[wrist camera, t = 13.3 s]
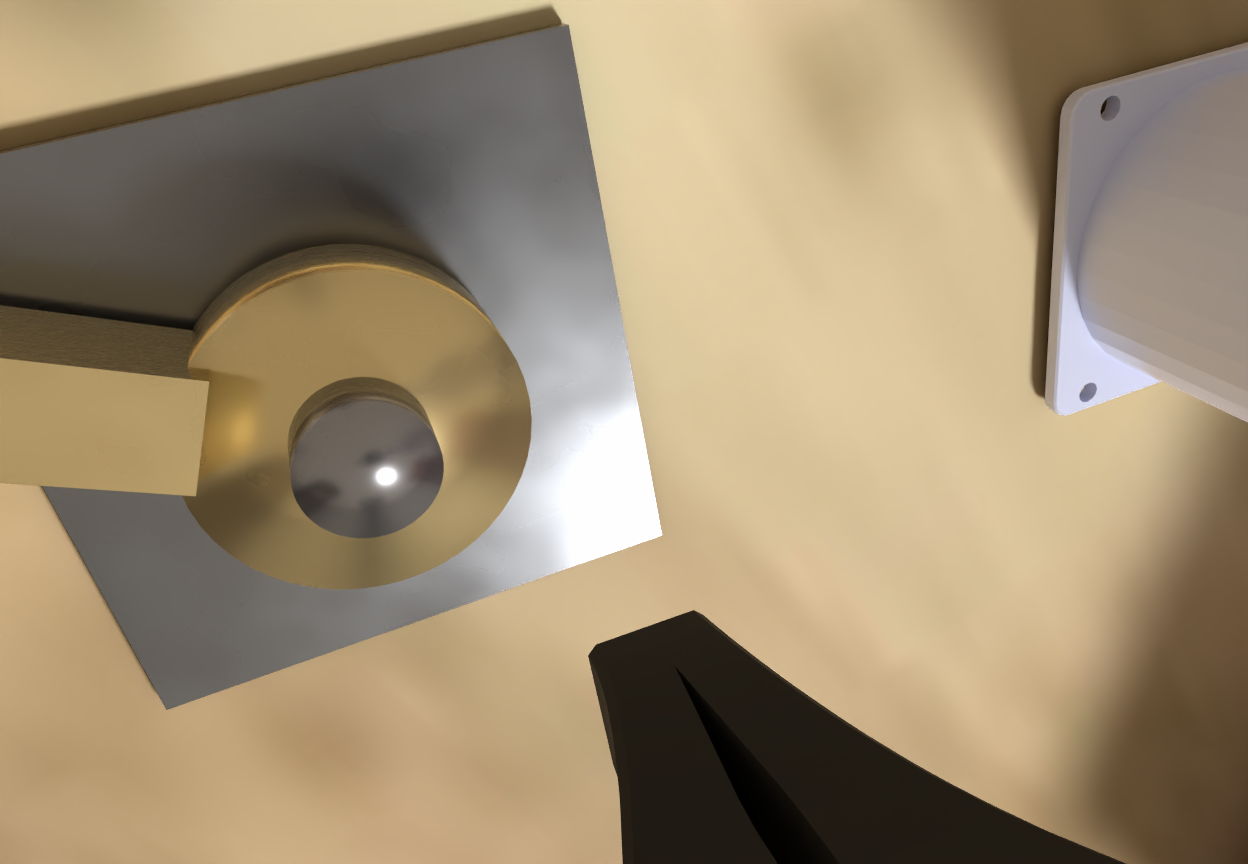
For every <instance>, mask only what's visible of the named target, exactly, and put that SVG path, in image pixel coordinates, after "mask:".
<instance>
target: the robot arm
mask: <svg viewBox="0 0 1248 864" xmlns="http://www.w3.org/2000/svg"><path fill="white" fill-rule="evenodd" d="M1105 100H1107V105H1106V108H1105V111H1104V112H1103V113H1102V115H1101V113H1100V110H1101V107H1102V104H1103V103H1104V101H1105ZM1159 382H1163V383H1166V384H1168V385H1170V386H1172V387H1174V388H1176V389H1178V390H1180V391H1182V392H1184V393H1187V394H1189V395H1191V396H1193V397H1195V398H1197V399H1199V400H1201V401H1203V402H1205V403H1208V404H1210V405H1212V406H1214V407H1216V408H1218V409H1220V410H1222V411H1224V412H1226V413H1229V414H1231V415H1233V416H1235V417H1237V418H1239V419H1241V420H1243V421H1245V422H1247V423H1248V42H1246V43H1243V44H1239V45H1235V46H1232V47H1228V48H1224V49H1221V50H1217V51H1214V52H1210V53H1206V54H1203V55H1199V56H1195V57H1192V58H1188V59H1184V60H1181V61H1177V62H1173V63H1170V64H1166V65H1162V66H1159V67H1155V68H1152V69H1148V70H1144V71H1141V72H1137V73H1133V74H1130V75H1126V76H1122V77H1119V78H1115V79H1111V80H1108V81H1104V82H1101V83H1097V84H1093V85H1090V86H1086V87H1082V88H1080V89H1078V90H1076V91H1074V92H1073V93H1072V94H1071V95H1070V96H1069V97H1068V98H1067V99H1066V101H1065V103H1064V105H1063V107H1062V111H1061V116H1060V133H1059V151H1058V170H1057V188H1056V206H1055V225H1054V243H1053V262H1052V280H1051V298H1050V317H1049V335H1048V353H1047V372H1046V390H1045V402H1046V405H1047V407H1048V408H1049V409H1050V410H1052V411H1053V412H1055V413H1057V414H1059V415H1062V416H1064V415H1069V414H1072V413H1075V412H1078V411H1081V410H1083V409H1086V408H1089V407H1092V406H1094V405H1097V404H1100V403H1103V402H1106V401H1108V400H1111V399H1114V398H1117V397H1120V396H1122V395H1125V394H1128V393H1131V392H1133V391H1136V390H1139V389H1142V388H1145V387H1147V386H1150V385H1153V384H1156V383H1159ZM1083 387H1084V389H1083V390H1082V391H1081V389H1082V388H1083ZM1080 391H1081V393H1080ZM588 657H589V661H590V665H591V670H592V674H593V678H594V683H595V687H596V691H597V696H598V700H599V704H600V709H601V713H602V717H603V722H604V726H605V730H606V735H607V739H608V743H609V748H610V752H611V756H612V761H613V765H614V768H615V771H616V773H617V776H618V784H619V794H620V809H621V832H622V855H623V864H1125V863H1123V862H1121V861H1118V860H1116V859H1113V858H1111V857H1109V856H1106V855H1104V854H1101V853H1099V852H1096V851H1094V850H1092V849H1089V848H1087V847H1084V846H1082V845H1079V844H1077V843H1075V842H1072V841H1070V840H1067V839H1065V838H1062V837H1060V836H1058V835H1055V834H1053V833H1050V832H1048V831H1046V830H1044V829H1041V828H1039V827H1037V826H1035V825H1033V824H1031V823H1029V822H1027V821H1024V820H1022V819H1020V818H1018V817H1016V816H1014V815H1012V814H1010V813H1008V812H1006V811H1003V810H1001V809H999V808H997V807H995V806H993V805H991V804H989V803H987V802H985V801H983V800H981V799H979V798H977V797H975V796H973V795H971V794H969V793H968V792H966V791H964V790H962V789H960V788H958V787H956V786H954V785H952V784H950V783H948V782H946V781H945V780H943V779H941V778H939V777H937V776H936V775H934V774H932V773H930V772H928V771H927V770H925V769H923V768H921V767H920V766H918V765H916V764H914V763H913V762H911V761H909V760H907V759H906V758H904V757H902V756H901V755H899V754H897V753H896V752H894V751H892V750H891V749H889V748H887V747H886V746H884V745H883V744H881V743H879V742H878V741H876V740H874V739H873V738H871V737H869V736H868V735H866V734H865V733H863V732H862V731H860V730H858V729H857V728H855V727H854V726H852V725H851V724H849V723H848V722H846V721H844V720H843V719H841V718H840V717H838V716H837V715H836V714H834V713H833V712H831V711H830V710H828V709H827V708H825V707H824V706H822V705H821V704H819V703H818V702H817V701H815V700H814V699H812V698H811V697H809V696H808V695H806V694H805V693H803V692H802V691H801V690H799V689H798V688H796V687H795V686H793V685H792V684H791V683H789V682H788V681H787V680H785V679H784V678H782V677H781V676H780V675H778V674H777V673H776V672H774V671H773V670H772V669H770V668H769V667H768V666H766V665H765V664H764V663H762V662H761V661H760V660H758V659H757V658H756V657H754V656H753V655H752V654H751V653H749V652H748V651H747V650H745V649H744V648H743V647H742V646H740V645H739V644H738V643H737V642H735V641H734V640H733V639H732V638H730V637H729V636H728V635H727V634H725V633H724V632H723V631H722V630H720V629H719V628H718V627H717V626H716V625H714V624H713V623H712V622H711V621H710V620H708V619H707V618H706V617H705V616H704V615H702V614H700V613H698V612H696V611H694V610H693V611H690V612H687V613H684V614H682V615H679V616H676V617H673V618H670V619H667V620H665V621H662V622H659V623H656V624H653V625H650V626H648V627H645V628H642V629H639V630H636V631H633V632H631V633H628V634H625V635H622V636H619V637H617V638H614V639H611V640H608V641H605V642H602V643H600V644H597V645H595V647H594V648H593V650H592V651H591V653H590V654H589V655H588Z"/></svg>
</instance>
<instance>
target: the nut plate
mask: <svg viewBox="0 0 1248 864" xmlns="http://www.w3.org/2000/svg"><path fill="white" fill-rule="evenodd" d="M331 244H361V245H370V246H379V247H383V248H388V249H392V250H396V251H400V252H403V253H406V254H408V255H411V256H414V257H416V258H419V259H422V260H424V261H425V262H427V263H429V264H431V265H433V266H435V267H437V268H439V269H440V270H442V271H443V272H445V273H446V274H448V275H449V276H450V277H452V278H453V279H454V280H456V281H457V282H459V283H460V284H461V285H462V286H463V287H464V288H465V289H466V290H467V291H468V292H469V293H470V294H471V295H472V296H473V297H474V298H475V299H476V300H477V302H478V303H479V304H480V305H481V307H482V308H483V309H484V310H485V312H486V313H487V315H488V316H489V318H490V319H491V321H492V322H493V324H494V325H495V327H496V328H497V330H498V331H499V333H500V334H501V336H502V337H503V339H504V340H505V342H506V343H507V345H508V347H509V348H510V350H511V352H512V353H513V355H514V357H515V358H516V360H517V362H518V365H519V367H520V369H521V372H522V374H523V377H524V379H525V383H526V386H527V390H528V394H529V398H530V407H531V416H532V425H531V441H530V447H529V452H528V458H527V461H526V464H525V467H524V470H523V473H522V476H521V479H520V481H519V483H518V485H517V487H516V489H515V491H514V493H513V495H512V497H511V498H510V500H509V502H508V503H507V505H506V506H505V508H504V509H503V511H502V512H501V513H500V515H499V516H498V517H497V518H496V520H495V521H494V522H493V523H492V525H491V526H490V527H489V528H488V529H487V530H486V531H485V532H484V533H483V534H482V535H481V536H480V537H479V538H478V539H477V540H476V541H474V542H473V543H472V544H471V545H469V546H468V547H467V548H465V549H464V550H463V551H461V552H460V553H459V554H457V555H456V556H454V557H452V558H451V559H449V560H448V561H446V562H444V563H443V564H441V565H439V566H437V567H435V568H433V569H431V570H429V571H426V572H424V573H422V574H420V575H417V576H414V577H411V578H408V579H405V580H403V581H400V582H395V583H391V584H387V585H382V586H378V587H370V588H362V589H337V590H335V589H323V588H312V587H307V586H303V585H298V584H293V583H289V582H286V581H283V580H280V579H277V578H274V577H270V576H268V575H266V574H264V573H262V572H259V571H257V570H255V569H253V568H251V567H249V566H247V565H246V564H244V563H243V562H241V561H239V560H238V559H236V558H235V557H233V556H231V555H230V554H229V553H228V552H227V551H225V550H224V549H223V548H222V547H220V546H219V545H218V544H217V543H216V542H214V540H213V539H212V538H211V537H210V536H209V535H208V534H207V533H206V532H205V531H204V530H203V529H202V527H201V526H200V525H199V524H198V522H197V521H196V519H195V518H194V516H193V515H192V513H191V512H190V511H189V509H188V508H187V505H186V503H185V501H184V499H183V497H182V495H170V494H155V493H140V492H126V491H111V490H96V489H81V488H67V487H52V486H42V487H43V489H44V491H45V492H46V494H47V496H48V498H49V500H50V501H51V503H52V505H53V507H54V509H55V510H56V512H57V514H58V516H59V518H60V519H61V521H62V523H63V525H64V527H65V528H66V530H67V532H68V534H69V535H70V537H71V539H72V541H73V543H74V544H75V546H76V548H77V550H78V552H79V553H80V555H81V557H82V559H83V561H84V562H85V564H86V566H87V568H88V570H89V571H90V573H91V575H92V577H93V579H94V580H95V582H96V584H97V586H98V588H99V589H100V591H101V593H102V595H103V597H104V598H105V600H106V602H107V604H108V606H109V607H110V609H111V611H112V613H113V615H114V616H115V618H116V620H117V622H118V624H119V625H120V627H121V629H122V631H123V633H124V634H125V636H126V638H127V640H128V642H129V643H130V645H131V647H132V649H133V651H134V652H135V654H136V656H137V658H138V659H139V661H140V663H141V665H142V667H143V668H144V670H145V672H146V674H147V676H148V677H149V679H150V681H151V683H152V685H153V686H154V688H155V690H156V692H157V694H158V695H159V697H160V699H161V701H162V703H163V704H164V706H165V708H166V710H168V709H171V708H173V707H176V706H179V705H182V704H185V703H188V702H190V701H193V700H196V699H199V698H202V697H205V696H207V695H210V694H213V693H216V692H219V691H222V690H224V689H227V688H230V687H233V686H236V685H239V684H241V683H244V682H247V681H250V680H253V679H256V678H258V677H261V676H264V675H267V674H270V673H273V672H275V671H278V670H281V669H284V668H287V667H290V666H292V665H295V664H298V663H301V662H304V661H307V660H309V659H312V658H315V657H318V656H321V655H324V654H326V653H329V652H332V651H335V650H338V649H341V648H343V647H346V646H349V645H352V644H355V643H358V642H360V641H363V640H366V639H369V638H372V637H375V636H377V635H380V634H383V633H386V632H389V631H392V630H394V629H397V628H400V627H403V626H406V625H409V624H411V623H414V622H417V621H420V620H423V619H426V618H428V617H431V616H434V615H437V614H440V613H443V612H445V611H448V610H451V609H454V608H457V607H460V606H462V605H465V604H468V603H471V602H474V601H477V600H479V599H482V598H485V597H488V596H491V595H494V594H496V593H499V592H502V591H505V590H508V589H511V588H513V587H516V586H519V585H522V584H525V583H528V582H530V581H533V580H536V579H539V578H542V577H545V576H547V575H550V574H553V573H556V572H559V571H562V570H564V569H567V568H570V567H573V566H576V565H579V564H581V563H584V562H587V561H590V560H593V559H596V558H598V557H601V556H604V555H607V554H610V553H613V552H615V551H618V550H621V549H624V548H627V547H630V546H632V545H635V544H638V543H641V542H644V541H647V540H649V539H652V538H655V537H658V536H661V535H662V534H661V528H660V523H659V517H658V512H657V506H656V501H655V495H654V490H653V484H652V479H651V473H650V468H649V463H648V457H647V452H646V446H645V441H644V435H643V430H642V424H641V419H640V413H639V408H638V402H637V397H636V391H635V386H634V380H633V375H632V369H631V364H630V359H629V353H628V348H627V342H626V337H625V331H624V326H623V320H622V315H621V309H620V304H619V298H618V293H617V287H616V282H615V276H614V271H613V265H612V260H611V255H610V249H609V244H608V238H607V233H606V227H605V222H604V216H603V211H602V205H601V200H600V194H599V189H598V183H597V178H596V172H595V167H594V161H593V156H592V151H591V145H590V140H589V134H588V129H587V123H586V118H585V112H584V107H583V101H582V96H581V90H580V85H579V79H578V74H577V68H576V63H575V57H574V52H573V47H572V41H571V36H570V30H569V25H567V24H560V25H555V26H551V27H547V28H542V29H538V30H533V31H529V32H524V33H520V34H516V35H511V36H507V37H502V38H498V39H494V40H489V41H485V42H480V43H476V44H472V45H467V46H463V47H458V48H454V49H449V50H445V51H441V52H436V53H432V54H427V55H423V56H419V57H414V58H410V59H405V60H401V61H397V62H392V63H388V64H383V65H379V66H374V67H370V68H366V69H361V70H357V71H352V72H348V73H344V74H339V75H335V76H330V77H326V78H322V79H317V80H313V81H308V82H304V83H299V84H295V85H291V86H286V87H282V88H277V89H273V90H269V91H264V92H260V93H255V94H251V95H247V96H242V97H238V98H233V99H229V100H224V101H220V102H216V103H211V104H207V105H202V106H198V107H194V108H189V109H185V110H180V111H176V112H172V113H167V114H163V115H158V116H154V117H149V118H145V119H141V120H136V121H132V122H127V123H123V124H119V125H114V126H110V127H105V128H101V129H97V130H92V131H88V132H83V133H79V134H74V135H70V136H66V137H61V138H57V139H52V140H48V141H44V142H39V143H35V144H30V145H26V146H22V147H17V148H13V149H8V150H4V151H0V305H2V306H10V307H17V308H25V309H33V310H40V311H48V312H56V313H63V314H71V315H78V316H86V317H94V318H101V319H109V320H117V321H124V322H132V323H140V324H147V325H155V326H162V327H170V328H178V329H185V330H193V329H194V327H195V325H196V323H197V322H198V320H199V319H200V318H201V316H202V315H203V313H204V312H205V311H206V309H207V308H208V307H209V305H210V304H211V303H212V302H213V301H214V300H215V299H216V298H217V297H218V296H219V295H220V294H221V293H222V292H223V291H224V290H225V289H226V288H227V287H228V286H230V285H231V284H232V283H234V282H235V281H236V280H238V279H239V278H240V277H241V276H243V275H244V274H246V273H247V272H249V271H251V270H253V269H254V268H256V267H258V266H260V265H261V264H263V263H265V262H267V261H270V260H272V259H275V258H277V257H280V256H282V255H284V254H287V253H291V252H294V251H298V250H302V249H306V248H309V247H316V246H324V245H331Z"/></svg>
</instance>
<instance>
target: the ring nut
mask: <svg viewBox="0 0 1248 864" xmlns="http://www.w3.org/2000/svg"><path fill="white" fill-rule="evenodd" d="M531 425H532V416H531V407H530V398H529V394H528V390H527V386H526V383H525V379H524V377H523V374H522V372H521V369H520V367H519V365H518V362H517V360H516V358H515V357H514V355H513V353H512V352H511V350H510V348H509V347H508V345H507V343H506V342H505V340H504V339H503V337H502V336H501V334H500V333H499V331H498V330H497V328H496V327H495V325H494V324H493V322H492V321H491V319H490V318H489V316H488V315H487V313H486V312H485V310H484V309H483V308H482V307H481V305H480V304H479V303H478V302H477V300H476V299H475V298H474V297H473V296H472V295H471V294H470V293H469V292H468V291H467V290H466V289H465V288H464V287H463V286H462V285H461V284H460V283H459V282H457V281H456V280H454V279H453V278H452V277H450V276H449V275H448V274H446V273H445V272H443V271H442V270H440V269H439V268H437V267H435V266H433V265H431V264H429V263H427V262H425V261H424V260H422V259H419V258H416V257H414V256H411V255H408V254H406V253H403V252H400V251H396V250H392V249H388V248H383V247H379V246H370V245H361V244H331V245H324V246H316V247H309V248H306V249H302V250H298V251H294V252H291V253H287V254H284V255H282V256H280V257H277V258H275V259H272V260H270V261H267V262H265V263H263V264H261V265H260V266H258V267H256V268H254V269H253V270H251V271H249V272H247V273H246V274H244V275H243V276H241V277H240V278H239V279H238V280H236V281H235V282H234V283H232V284H231V285H230V286H228V287H227V288H226V289H225V290H224V291H223V292H222V293H221V294H220V295H219V296H218V297H217V298H216V299H215V300H214V301H213V302H212V303H211V304H210V305H209V307H208V308H207V309H206V311H205V312H204V313H203V315H202V316H201V318H200V319H199V320H198V322H197V323H196V325H195V327H194V329H193V330H185V329H178V328H170V327H162V326H155V325H147V324H140V323H132V322H124V321H117V320H109V319H101V318H94V317H86V316H78V315H71V314H63V313H56V312H48V311H40V310H33V309H25V308H17V307H10V306H2V305H0V483H7V484H22V485H37V486H52V487H67V488H81V489H96V490H111V491H126V492H140V493H155V494H170V495H182V497H183V499H184V501H185V503H186V505H187V508H188V509H189V511H190V512H191V513H192V515H193V516H194V518H195V519H196V521H197V522H198V524H199V525H200V526H201V527H202V529H203V530H204V531H205V532H206V533H207V534H208V535H209V536H210V537H211V538H212V539H213V540H214V542H216V543H217V544H218V545H219V546H220V547H222V548H223V549H224V550H225V551H227V552H228V553H229V554H230V555H231V556H233V557H235V558H236V559H238V560H239V561H241V562H243V563H244V564H246V565H247V566H249V567H251V568H253V569H255V570H257V571H259V572H262V573H264V574H266V575H268V576H270V577H274V578H277V579H280V580H283V581H286V582H289V583H293V584H298V585H303V586H307V587H312V588H323V589H335V590H337V589H362V588H370V587H378V586H382V585H387V584H391V583H395V582H400V581H403V580H405V579H408V578H411V577H414V576H417V575H420V574H422V573H424V572H426V571H429V570H431V569H433V568H435V567H437V566H439V565H441V564H443V563H444V562H446V561H448V560H449V559H451V558H452V557H454V556H456V555H457V554H459V553H460V552H461V551H463V550H464V549H465V548H467V547H468V546H469V545H471V544H472V543H473V542H474V541H476V540H477V539H478V538H479V537H480V536H481V535H482V534H483V533H484V532H485V531H486V530H487V529H488V528H489V527H490V526H491V525H492V523H493V522H494V521H495V520H496V518H497V517H498V516H499V515H500V513H501V512H502V511H503V509H504V508H505V506H506V505H507V503H508V502H509V500H510V498H511V497H512V495H513V493H514V491H515V489H516V487H517V485H518V483H519V481H520V479H521V476H522V473H523V470H524V467H525V464H526V461H527V458H528V452H529V447H530V441H531Z"/></svg>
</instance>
